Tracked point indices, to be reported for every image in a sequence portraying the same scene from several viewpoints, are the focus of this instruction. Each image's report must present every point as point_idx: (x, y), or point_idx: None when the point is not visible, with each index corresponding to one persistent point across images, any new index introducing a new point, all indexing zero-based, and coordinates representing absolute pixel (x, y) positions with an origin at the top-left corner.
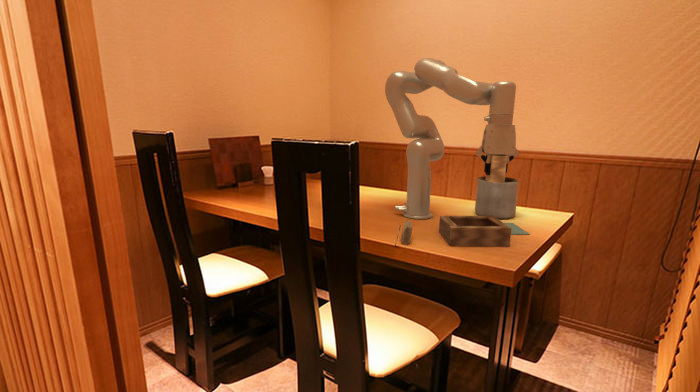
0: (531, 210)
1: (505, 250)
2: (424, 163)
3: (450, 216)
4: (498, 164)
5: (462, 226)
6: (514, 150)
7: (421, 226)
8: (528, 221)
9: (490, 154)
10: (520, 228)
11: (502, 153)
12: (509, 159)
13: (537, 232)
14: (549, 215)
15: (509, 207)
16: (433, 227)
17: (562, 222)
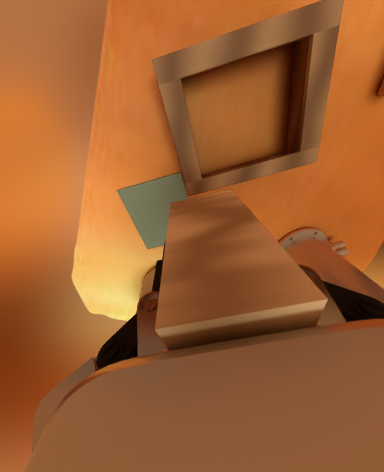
0: (121, 314)
1: (169, 31)
2: None
3: (293, 158)
4: (224, 246)
5: (299, 32)
6: (33, 459)
7: (313, 186)
8: (123, 266)
9: (366, 320)
10: (134, 219)
11: (217, 361)
12: (136, 330)
13: (105, 210)
14: (95, 300)
15: (151, 281)
16: (292, 186)
17: (72, 275)
